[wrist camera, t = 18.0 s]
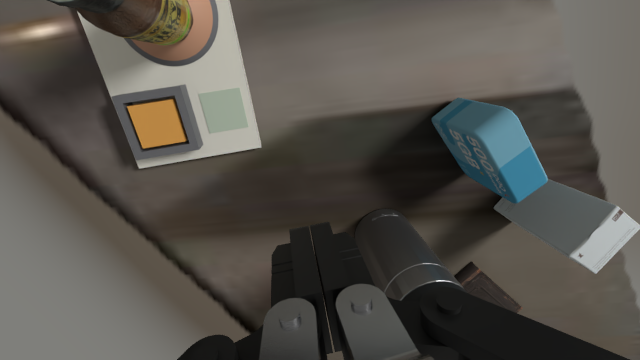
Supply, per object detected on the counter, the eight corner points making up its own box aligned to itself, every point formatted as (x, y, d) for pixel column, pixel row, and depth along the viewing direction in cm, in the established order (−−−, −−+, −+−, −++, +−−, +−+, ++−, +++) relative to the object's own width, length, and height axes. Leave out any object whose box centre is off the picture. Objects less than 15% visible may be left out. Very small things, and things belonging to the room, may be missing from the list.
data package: (427, 116, 44) (478, 135, 33) (453, 95, 43) (514, 108, 32) (464, 174, 48) (520, 208, 37) (488, 156, 48) (552, 186, 37)
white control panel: (261, 145, 42) (260, 152, 39) (142, 165, 41) (131, 175, 38) (214, -68, 33) (207, -82, 30) (59, -50, 32) (34, -62, 28)
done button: (189, 137, 39) (185, 141, 37) (149, 144, 38) (142, 148, 37) (176, 97, 37) (171, 99, 35) (134, 104, 37) (126, 106, 35)
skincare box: (512, 222, 53) (594, 278, 40) (490, 206, 51) (568, 260, 38) (547, 183, 51) (646, 229, 38) (525, 166, 49) (621, 207, 36)
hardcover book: (514, 299, 61) (522, 308, 59) (429, 368, 66) (434, 379, 63) (469, 259, 56) (477, 267, 54) (380, 337, 60) (384, 348, 58)
